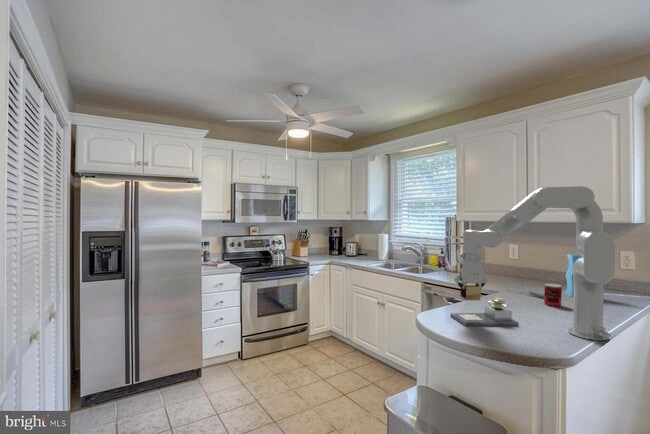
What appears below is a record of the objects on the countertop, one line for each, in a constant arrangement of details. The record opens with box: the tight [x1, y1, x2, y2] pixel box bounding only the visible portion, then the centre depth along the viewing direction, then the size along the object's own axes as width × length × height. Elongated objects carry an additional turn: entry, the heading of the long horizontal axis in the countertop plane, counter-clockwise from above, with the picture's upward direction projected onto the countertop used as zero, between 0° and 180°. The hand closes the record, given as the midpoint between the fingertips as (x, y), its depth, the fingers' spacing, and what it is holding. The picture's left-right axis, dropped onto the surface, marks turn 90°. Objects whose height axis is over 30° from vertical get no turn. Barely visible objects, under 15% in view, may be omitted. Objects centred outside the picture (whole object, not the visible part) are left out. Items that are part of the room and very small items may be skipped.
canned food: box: [543, 283, 563, 308], centre depth 180 cm, size 8×8×11 cm
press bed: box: [450, 305, 520, 327], centre depth 150 cm, size 14×24×6 cm, turn 95°
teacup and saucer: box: [487, 297, 508, 308], centre depth 179 cm, size 9×8×4 cm
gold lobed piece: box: [491, 298, 506, 310], centre depth 150 cm, size 5×5×5 cm
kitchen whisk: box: [505, 281, 544, 299], centre depth 203 cm, size 6×33×6 cm, turn 24°
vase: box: [565, 254, 584, 298], centre depth 202 cm, size 10×10×25 cm
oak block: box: [461, 283, 482, 301], centre depth 149 cm, size 6×6×6 cm
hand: (470, 296), depth 149 cm, fingers closed on oak block, 6 cm apart
